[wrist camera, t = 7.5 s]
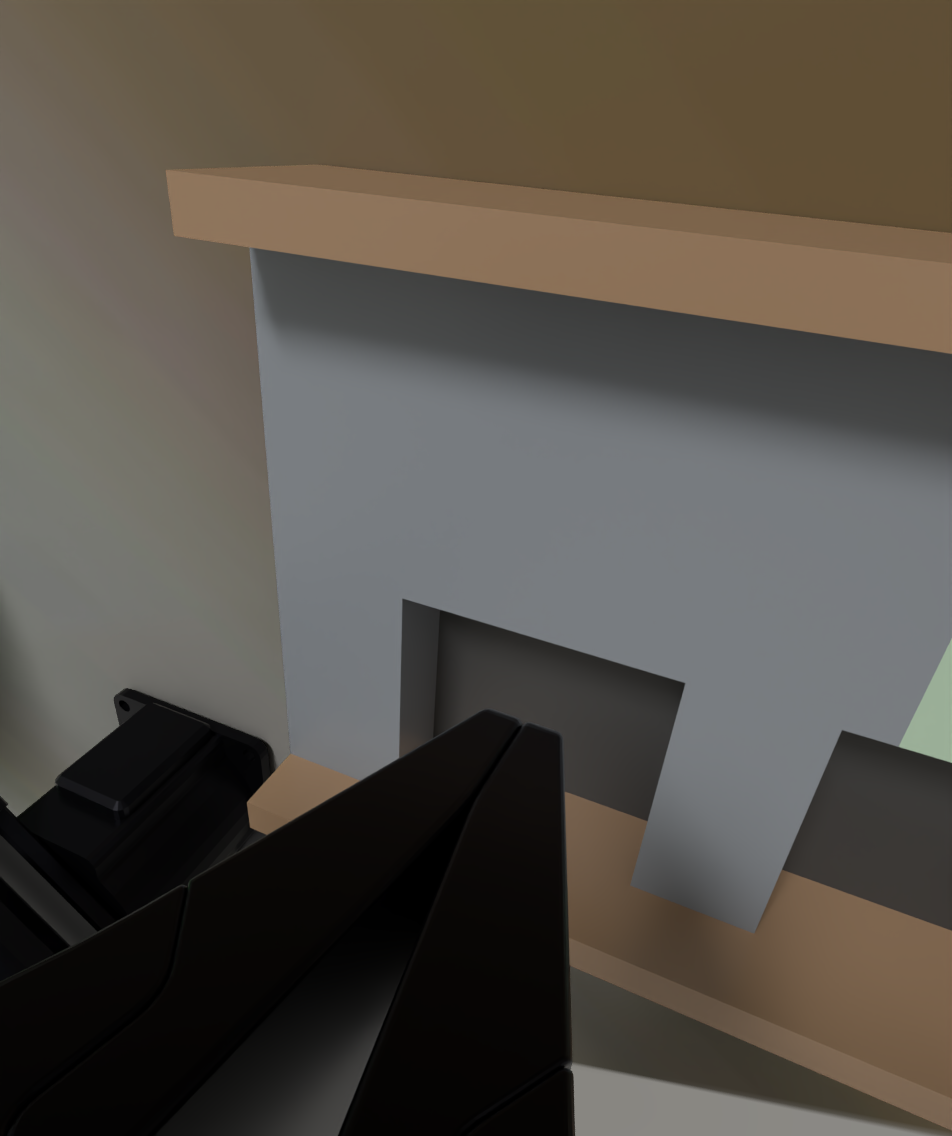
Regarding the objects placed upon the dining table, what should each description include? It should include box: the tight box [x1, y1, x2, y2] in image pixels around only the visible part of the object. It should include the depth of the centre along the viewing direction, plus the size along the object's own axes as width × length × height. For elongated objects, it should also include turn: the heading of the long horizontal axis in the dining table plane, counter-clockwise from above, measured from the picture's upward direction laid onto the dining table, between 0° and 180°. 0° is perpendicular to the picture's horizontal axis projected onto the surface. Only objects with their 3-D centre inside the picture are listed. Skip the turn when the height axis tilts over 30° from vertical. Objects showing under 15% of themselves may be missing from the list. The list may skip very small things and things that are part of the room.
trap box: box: [166, 165, 952, 1130], centre depth 15 cm, size 16×22×4 cm
